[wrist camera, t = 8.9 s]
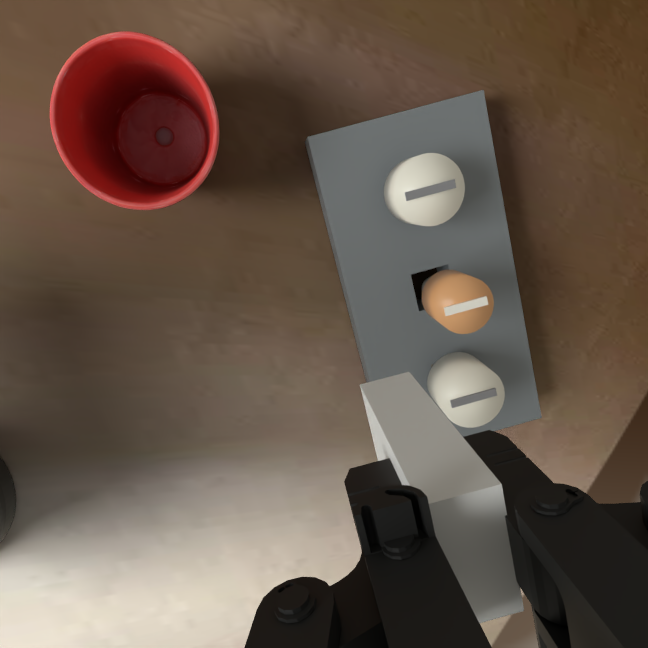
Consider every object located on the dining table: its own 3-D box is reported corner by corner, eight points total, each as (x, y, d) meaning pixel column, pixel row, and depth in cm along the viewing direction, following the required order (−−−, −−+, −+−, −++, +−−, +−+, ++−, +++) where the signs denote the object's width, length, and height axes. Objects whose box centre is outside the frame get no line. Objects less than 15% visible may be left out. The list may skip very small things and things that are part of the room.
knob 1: (382, 229, 46) (404, 234, 38) (369, 169, 45) (388, 163, 37) (439, 213, 46) (471, 216, 38) (426, 154, 45) (458, 144, 37)
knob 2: (422, 399, 50) (449, 436, 42) (410, 349, 49) (436, 377, 41) (474, 385, 50) (510, 418, 42) (464, 334, 49) (499, 359, 41)
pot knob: (415, 317, 45) (444, 341, 37) (404, 271, 44) (432, 285, 36) (461, 304, 45) (499, 326, 37) (451, 258, 44) (489, 270, 36)
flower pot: (226, 66, 43) (212, 29, 34) (235, 206, 46) (223, 207, 36) (90, 68, 43) (36, 29, 33) (106, 210, 45) (61, 212, 36)
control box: (381, 440, 52) (390, 460, 48) (304, 142, 45) (307, 136, 41) (521, 401, 52) (541, 417, 48) (465, 99, 45) (483, 89, 42)
